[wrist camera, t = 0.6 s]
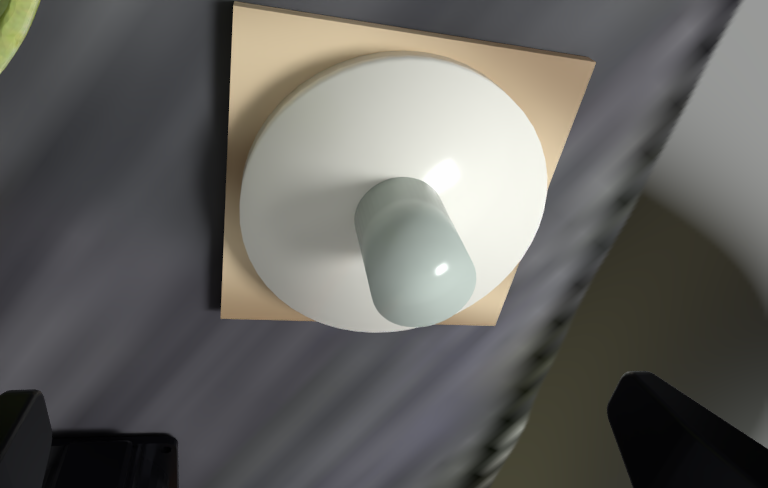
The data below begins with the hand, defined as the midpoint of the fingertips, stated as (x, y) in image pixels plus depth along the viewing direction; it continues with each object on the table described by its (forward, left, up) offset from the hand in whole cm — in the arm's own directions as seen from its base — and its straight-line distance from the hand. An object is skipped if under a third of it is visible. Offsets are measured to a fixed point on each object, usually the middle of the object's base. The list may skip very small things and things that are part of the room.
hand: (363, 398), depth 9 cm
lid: (-3, -3, -12) cm, 13 cm away
